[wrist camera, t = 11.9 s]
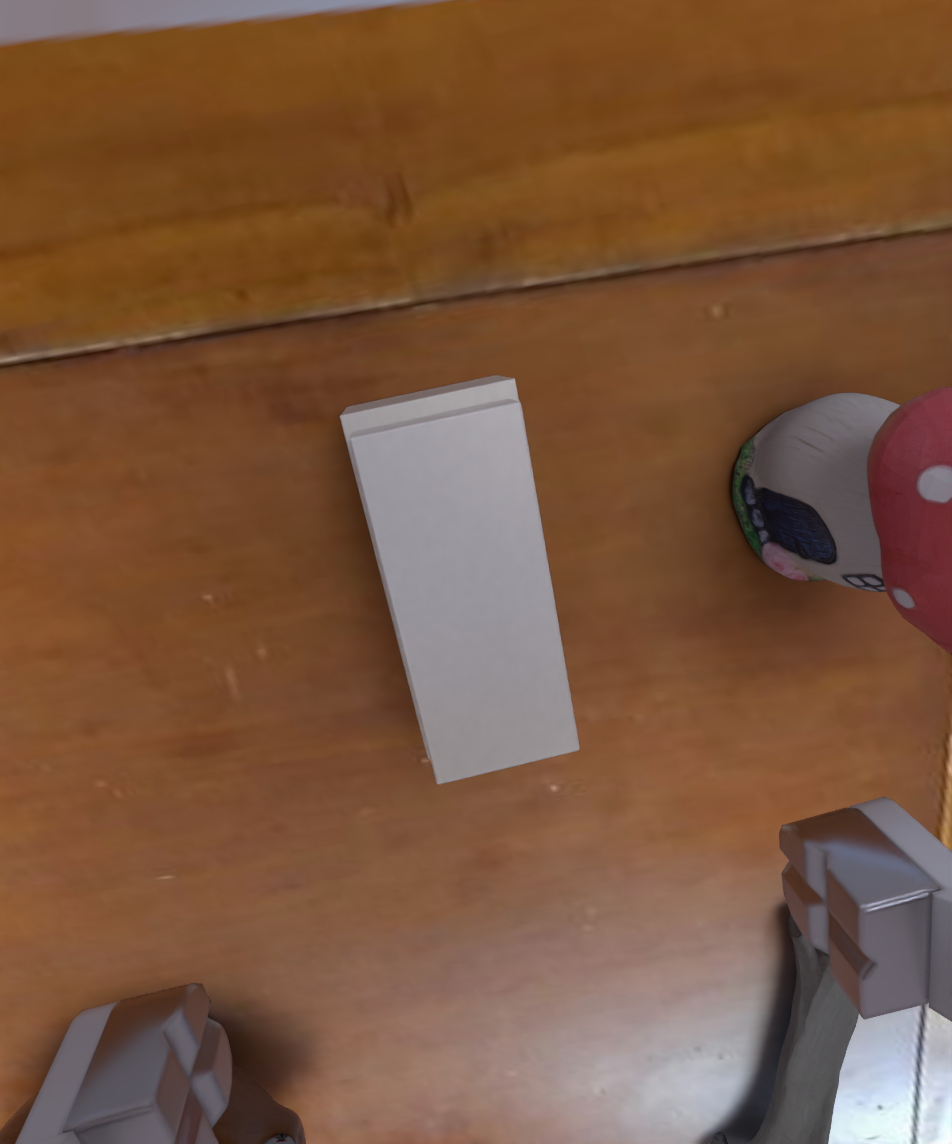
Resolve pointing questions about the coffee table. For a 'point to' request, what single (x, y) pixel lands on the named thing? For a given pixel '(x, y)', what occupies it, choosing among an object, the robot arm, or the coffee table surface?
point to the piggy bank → (245, 1129)
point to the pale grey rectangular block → (469, 585)
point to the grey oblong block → (415, 408)
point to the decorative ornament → (857, 499)
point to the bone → (808, 1053)
